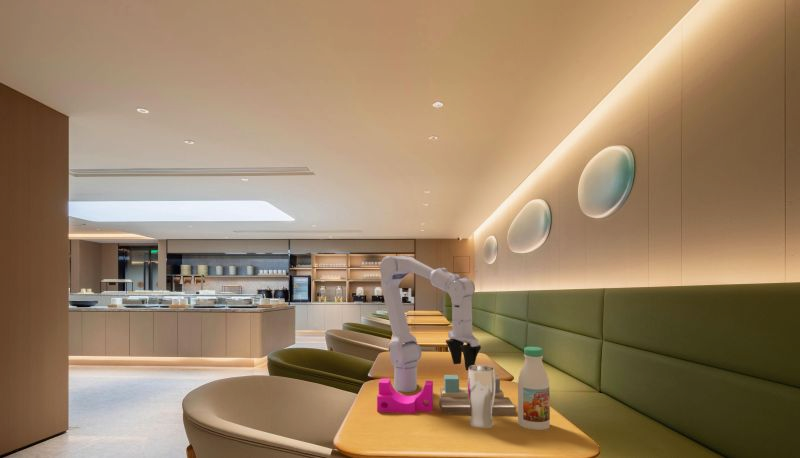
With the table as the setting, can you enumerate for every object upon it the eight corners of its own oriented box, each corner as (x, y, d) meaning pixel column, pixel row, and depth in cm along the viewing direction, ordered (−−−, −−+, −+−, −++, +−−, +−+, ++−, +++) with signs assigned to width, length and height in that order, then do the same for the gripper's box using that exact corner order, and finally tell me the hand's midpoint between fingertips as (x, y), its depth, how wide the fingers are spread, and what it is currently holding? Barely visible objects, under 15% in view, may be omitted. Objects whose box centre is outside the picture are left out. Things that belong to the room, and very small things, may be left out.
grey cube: (483, 388, 139) (483, 375, 140) (496, 388, 139) (496, 375, 140) (486, 392, 135) (486, 379, 136) (499, 392, 135) (499, 379, 136)
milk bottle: (512, 427, 117) (512, 348, 117) (527, 419, 122) (526, 343, 123) (541, 436, 111) (540, 353, 112) (555, 427, 117) (554, 347, 118)
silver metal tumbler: (478, 435, 112) (478, 373, 112) (462, 425, 118) (462, 366, 119) (501, 430, 115) (501, 369, 116) (483, 420, 122) (483, 363, 122)
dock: (439, 404, 133) (439, 396, 133) (508, 404, 133) (508, 396, 133) (441, 414, 125) (441, 406, 125) (515, 414, 125) (515, 407, 125)
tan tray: (440, 397, 140) (440, 387, 140) (500, 397, 140) (500, 387, 140) (442, 403, 135) (442, 393, 135) (503, 403, 135) (503, 393, 135)
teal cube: (444, 388, 139) (444, 375, 140) (457, 388, 139) (457, 375, 140) (445, 392, 135) (445, 379, 136) (459, 392, 135) (459, 379, 136)
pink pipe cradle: (377, 412, 127) (377, 385, 127) (380, 404, 134) (381, 378, 134) (431, 415, 125) (431, 387, 126) (432, 407, 132) (432, 380, 132)
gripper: (438, 317, 140) (439, 362, 140) (462, 324, 127) (463, 374, 126) (459, 315, 143) (460, 360, 142) (484, 322, 129) (485, 371, 129)
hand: (463, 366), depth 135 cm, fingers open, 7 cm apart
